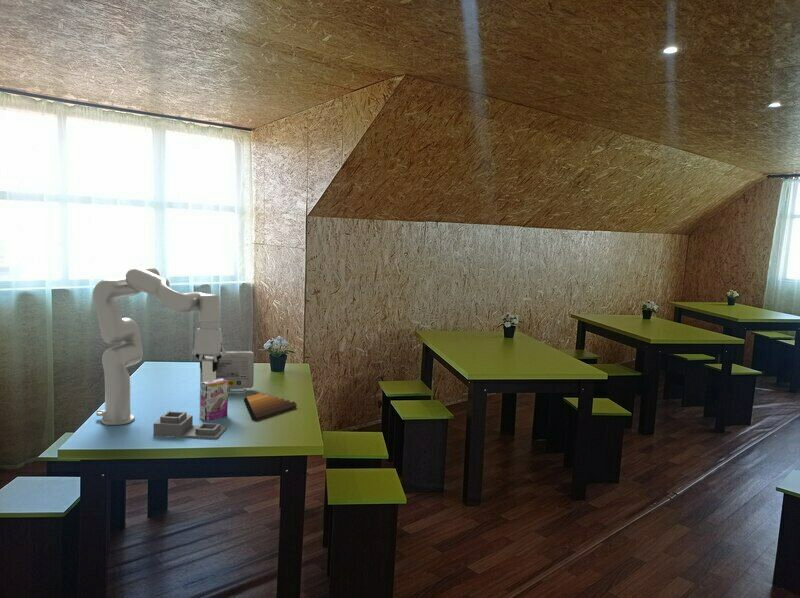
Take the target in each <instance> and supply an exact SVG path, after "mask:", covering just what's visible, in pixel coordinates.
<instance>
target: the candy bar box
mask: <svg viewBox="0 0 800 598" xmlns="http://www.w3.org/2000/svg"><path fill="white" fill-rule="evenodd" d="M199 385H200V386H199V419H200V420H201V421H203V422H209V421H212V420H216V419H217V420H218V419H221V418H226V417H227V416H228V409H229V408H228V401H229V398H228V397H229V394H228V380H225V379H223V378H222V379H216V380H214V381H213V382H208V381H205V382H200V383H199Z"/></svg>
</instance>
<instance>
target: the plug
mask: <svg viewBox="0 0 800 598" xmlns="http://www.w3.org/2000/svg"><path fill="white" fill-rule="evenodd" d="M213 362H214V358H213V357H208V356H205V357H204V358H203V359H202V378H203V381H208V382H213V381H214V380H215V379H216V371H215V372H213Z"/></svg>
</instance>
